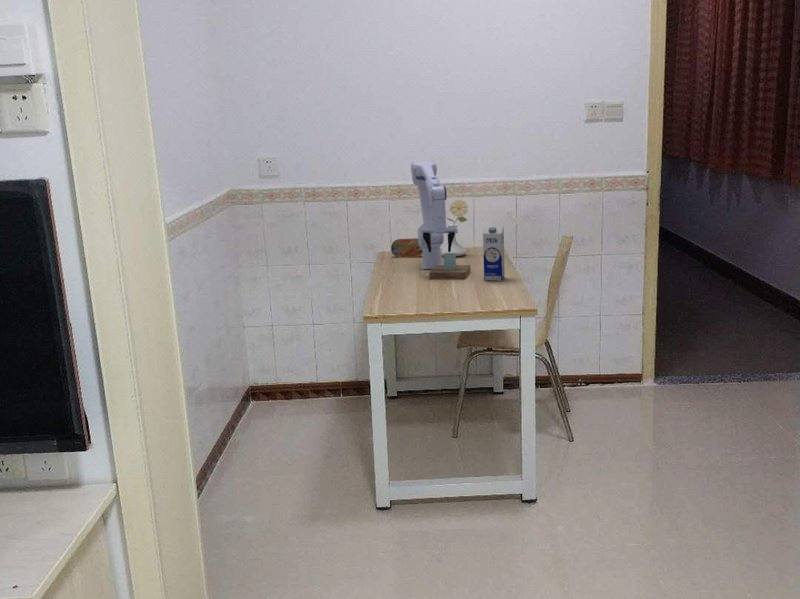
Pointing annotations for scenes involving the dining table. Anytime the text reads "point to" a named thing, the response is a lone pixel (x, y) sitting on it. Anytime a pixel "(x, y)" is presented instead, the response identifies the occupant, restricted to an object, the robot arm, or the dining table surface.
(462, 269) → the walnut base
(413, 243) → the tin
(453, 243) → the flower in vase
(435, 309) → the dining table surface
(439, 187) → the robot arm
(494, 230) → the milk carton
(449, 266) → the teal block
